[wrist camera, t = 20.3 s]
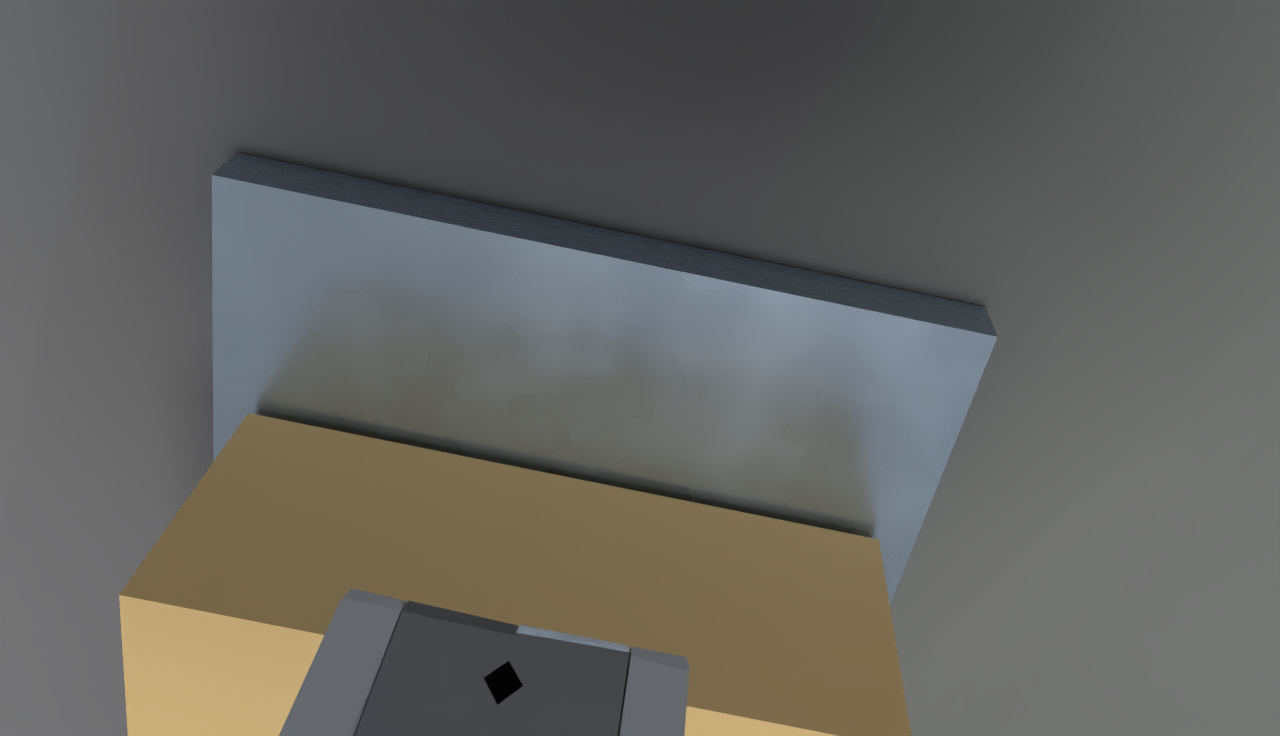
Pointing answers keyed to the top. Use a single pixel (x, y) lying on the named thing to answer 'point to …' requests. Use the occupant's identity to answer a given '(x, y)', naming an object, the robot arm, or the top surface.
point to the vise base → (585, 351)
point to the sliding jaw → (496, 585)
